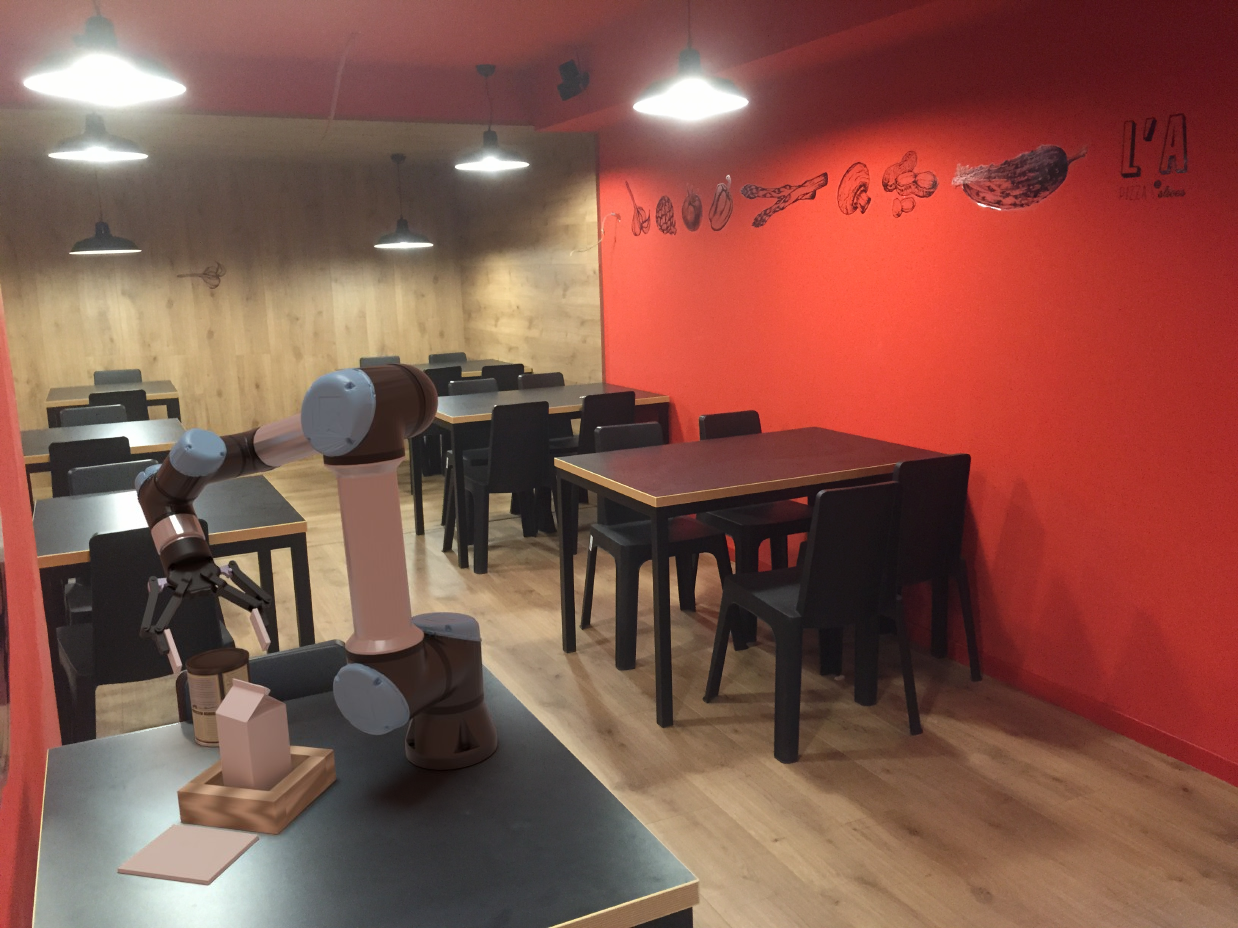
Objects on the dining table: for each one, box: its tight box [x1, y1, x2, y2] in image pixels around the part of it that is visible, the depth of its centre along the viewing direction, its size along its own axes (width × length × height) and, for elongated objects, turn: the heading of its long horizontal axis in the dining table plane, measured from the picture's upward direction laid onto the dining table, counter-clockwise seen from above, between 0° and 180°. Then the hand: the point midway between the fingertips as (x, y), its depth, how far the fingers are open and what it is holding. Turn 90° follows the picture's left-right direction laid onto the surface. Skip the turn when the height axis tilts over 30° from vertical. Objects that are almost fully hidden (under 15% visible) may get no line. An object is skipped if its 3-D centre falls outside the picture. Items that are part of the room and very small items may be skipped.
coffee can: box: [184, 647, 252, 748], centre depth 169 cm, size 10×10×14 cm
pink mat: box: [116, 823, 260, 886], centre depth 133 cm, size 14×11×1 cm
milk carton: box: [215, 679, 292, 791], centre depth 145 cm, size 7×7×19 cm
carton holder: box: [176, 745, 337, 835], centre depth 146 cm, size 16×16×5 cm
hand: (223, 658), depth 151 cm, fingers open, 13 cm apart
